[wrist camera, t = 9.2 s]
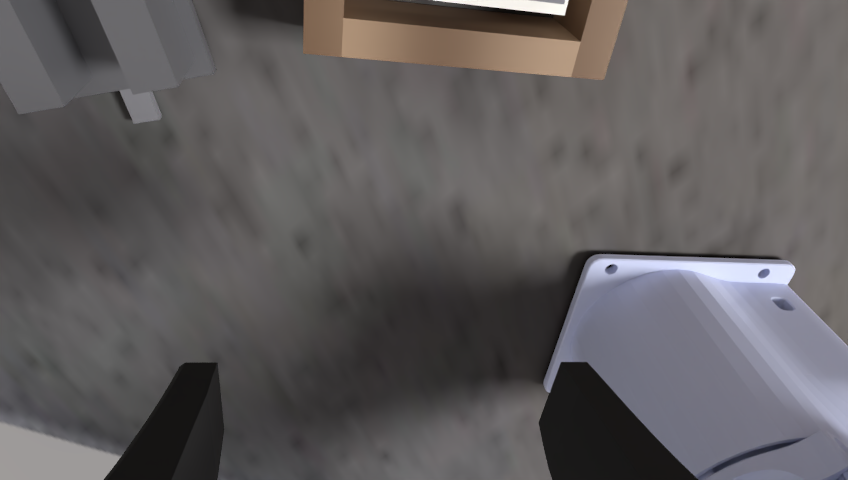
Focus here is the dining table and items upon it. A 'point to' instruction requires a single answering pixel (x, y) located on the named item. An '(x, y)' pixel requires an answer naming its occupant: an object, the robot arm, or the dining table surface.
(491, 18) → the frame
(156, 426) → the robot arm
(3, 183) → the dining table surface
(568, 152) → the dining table surface
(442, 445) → the dining table surface
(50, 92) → the clip
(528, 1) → the white boxy piece
